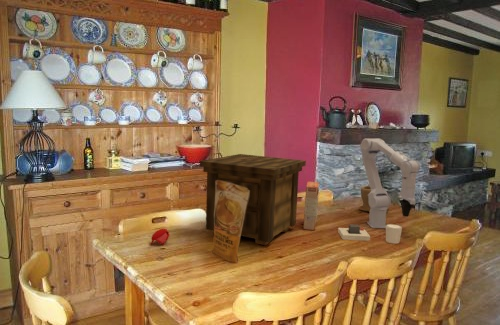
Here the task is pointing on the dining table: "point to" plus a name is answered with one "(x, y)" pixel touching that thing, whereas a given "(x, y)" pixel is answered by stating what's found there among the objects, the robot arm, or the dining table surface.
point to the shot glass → (393, 233)
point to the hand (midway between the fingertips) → (405, 216)
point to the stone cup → (366, 198)
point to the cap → (160, 236)
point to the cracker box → (311, 205)
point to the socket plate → (347, 236)
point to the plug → (354, 229)
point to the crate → (258, 192)
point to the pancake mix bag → (229, 218)
